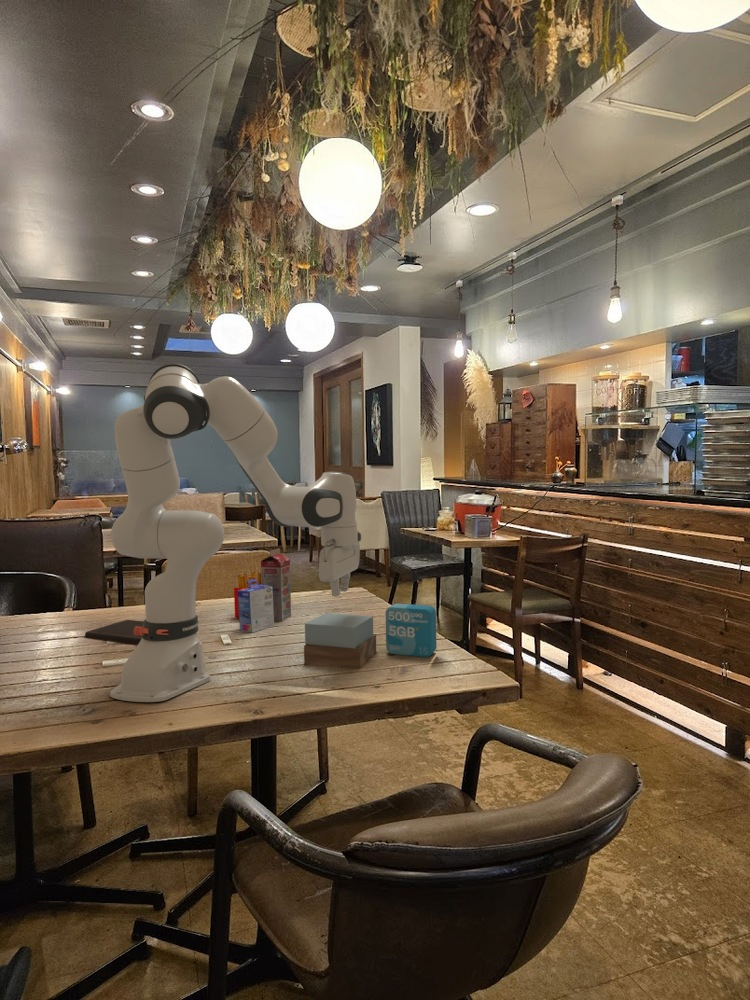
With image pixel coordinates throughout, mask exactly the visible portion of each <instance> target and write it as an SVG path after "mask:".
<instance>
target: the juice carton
mask: <svg viewBox="0 0 750 1000" xmlns="http://www.w3.org/2000/svg"><path fill="white" fill-rule="evenodd" d="M290 559H291V558H289V557H288V556H286V555H285V554H283V553H281V548H280V547H279V548H274V549H271V550H269V556H267V557H266V558H264V559H262V560H261V561H260V573H261V584H262V585H268V586H272V590H273V612H274V622H284V621H285V620H287V619H289V618H290V617H292V596H291V594H292V592H291V591H292V590H291V589H292V587H291V560H290Z"/></svg>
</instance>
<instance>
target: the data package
mask: <svg viewBox="0 0 750 1000" xmlns="http://www.w3.org/2000/svg"><path fill="white" fill-rule="evenodd" d="M385 648H386V651H387V653H389V654H391V655H399V656H410V657H420V658H429V657H431V655H432V654H434V652H435V651H437V610H436V608H435V606H432V605H424V604H410V603H394V604H392V605H390V606H389V607H387V609H386V610H385Z"/></svg>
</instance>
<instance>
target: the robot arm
mask: <svg viewBox="0 0 750 1000" xmlns="http://www.w3.org/2000/svg"><path fill="white" fill-rule="evenodd" d="M143 401H144V402H143V405H142V406H140V407H137V408H132V409H129V410H126V411H124V412H122V413H121V414H120V415H118V417H117V418H116V419H115V422H114V425H113V426H114V427H113V430H114V440H115V442H114V443H115V446H116V447H115V448H116V452H117V453H116V454H117V456H118V461H119V466H120V468H121V471H122V476H123V478H124V482H125V483H124V484H125V487H126V490H127V491H126V492H127V505H126V507H125V509H124V510H123V512H122V513H121V514H120V515H119V516H118V517H117V518H116V519H115V520H114V522H113V524H112V527H111V529H110V530H111V531H110V538H111V543H112V545H113V547H114V549H115V551H116V552H117V553H118V554H119V555H122V556H127V557H130V558H136V559H167V563H166V569H165V571H163V572H162V573H160V574H157V575H156V576H154V577H153V578H152V579H150V581H148V583H147V585H146V586H145V588H144V589H145V590H144V606H145V608H144V610H145V619H144V620H143V621H144V624H143V627H139V626H136V627H135V629H134V631H133V632H135V633H134V634H135V635H141V638H142V639H141V641H140V642H139V644H138V645H136V647H135V648H134V650H132V651H133V652H131V654H130V656H128V658H127V660H126V661H125V662H124V664H123V665H122V668H121V682H120V683H119V684H118V685H117V686H115V687H114V688H113V689H111V690H110V691H109V696H110V697H111V698H112V699H114V700H115V699H116V700H119V701H127V702H137V703H155V702H157V703H158V702H164V701H167V700H169V699H171V698H174V697H177V696H179V695H181V694H183V693H185V692H188V691H190V690H192V689H195V688H196V687H199V686H201V685H203V684H205V683H209V682H210V681H211V676H210V674H208V673H207V671H206V669H207V668H206V662H205V661H206V660H205V655H204V654H205V653H204V646H203V644H202V642H201V640H200V638H199V636H198V631H199V616H198V615H197V612H196V600H197V599H196V593H197V583H198V579H199V576H200V574H201V571H202V569H203V567H204V566H205V564H206V563H207V562H208V561H209V560H210V559H211V558H212V557H213V556H214V555H216V553H218V552H219V551H220V549H221V547H222V546H223V543H224V538H225V528H224V525H223V522H222V521H221V519H220V518H219V517H218V515H216V514H215V513H211V512H207V511H201V510H197V509H195V510H194V509H192V510H191V509H190V510H188V509H187V510H186V509H185V510H181V509H179V510H174V509H173V510H169V509H166V508H165V507H164V504H165V503H168V502H169V501H171V500H172V498H174V497H175V496H176V495H177V494H178V493H179V492H178V491H180V487H181V479H180V478H181V477H180V475H179V470H178V466H177V463H176V459H175V458H176V457H175V455H174V450H173V448H172V443H171V440H174V439H179V438H180V439H181V438H183V437H186V436H188V435H190V434H191V433H194V432H196V431H201V430H203V429H205V428H206V427H207V425H209V426H210V427H211V428H212V429H214V430H215V432H216V433H217V435H218V436H219V437H220V438H221V440H222V441H223V442H224V443H225V444H226V446H227V447H228V448H229V449H230V450H231V451H232V453H233V454H234V456H235V457H234V458H235V460H236V461H237V464H238V465H239V467H240V468H241V470H242V471H243V473H244V474H245V476H246V477H247V478H248V480H249V481H250V484H252V486H253V487H254V488H255V490H256V491H257V493H258V494H259V496H260V497H261V499H262V501H263V504H264V507H265V509H266V512H267V514H268V517H269V518H270V520H271V521H272V522H273V523H274V524H275V525H277V526H279V527H283V528H284V527H285V528H286V527H299V528H301V527H302V528H314V529H315V528H320V541H321V542H320V543H321V546H322V547H323V548H322V549H321V550H320V552H319V557H318V579H319V580H320V582H325V583H329V587H330V589H331V596H332V597H339V596H341V592H347V591H349V584H350V579H351V573H352V572H354V571H356V570H358V568H359V565H360V556H361V553H360V552H361V549H360V548H361V545H360V542H361V541H362V533H361V532H360V531H359V530H358V526H357V525H358V523H357V520H356V511H357V493H356V492H357V491H356V484H355V480H354V478H353V476H352V475H350V474H349V473H346V472H341V471H325V472H323V473H322V475H321V476H320V477H319V478H318V479H317V480H315V481H314V482H313V483H311V484H307V486H294V485H290V484H288V483H286V482H284V481H283V480H282V479H281V477H280V475H279V474H278V473H277V471H276V470H275V468H274V466H273V464H271V462H270V461H269V458H268V456H269V455H270V453H271V452H272V451H273V450H274V448H275V446H276V443H277V440H278V434H279V433H278V429H277V426H276V424H275V422H274V420H273V419H272V417H271V416H270V415H269V413H268V412H267V411H266V409H265V408H264V407H263V406H262V405H261V403H260V402H259V401H258V400H257V399H256V397H255V396H254V395H253V394H252V393H251V392H250V391H249V390H248V389H247V388H246V387H245V386H244V385H242V383H240V382H239V381H238V380H237V379H235V378H233V377H231V376H227V375H226V376H225V375H224V376H219V377H216V378H214V379H212V380H210V381H209V382H207V383H200V380H199V379H198V376H197V375H196V374H195V372H194V371H193V370H192V369H191V368H190V367H188V366H186V365H184V364H181V363H176V362H175V363H174V362H172V363H166V364H164V365H161V366H160V367H158V368H157V369H156V370H155V371H154V372H153V374H152V375H151V377H150V378H149V381H148V384H147V387H146V390H145V393H144V396H143ZM340 580H341V581H340ZM339 583H340V584H339Z"/></svg>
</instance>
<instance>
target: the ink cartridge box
mask: <svg viewBox="0 0 750 1000" xmlns="http://www.w3.org/2000/svg"><path fill="white" fill-rule="evenodd" d="M247 582H248V587H249V588H246V589H242V590H238V606H239V619H238V620H239V623H238V624H239V631H240V632H243V633H248V634H251V633H256V632H259V631H262V630H264V629H268V628H271V627H274V626H275V621H274V612H273V590H272V586H268V585H258V582H257V578H256V579H252V578H251V580H249V579H247ZM251 582H256V584H252V585H251V584H250V583H251Z"/></svg>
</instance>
